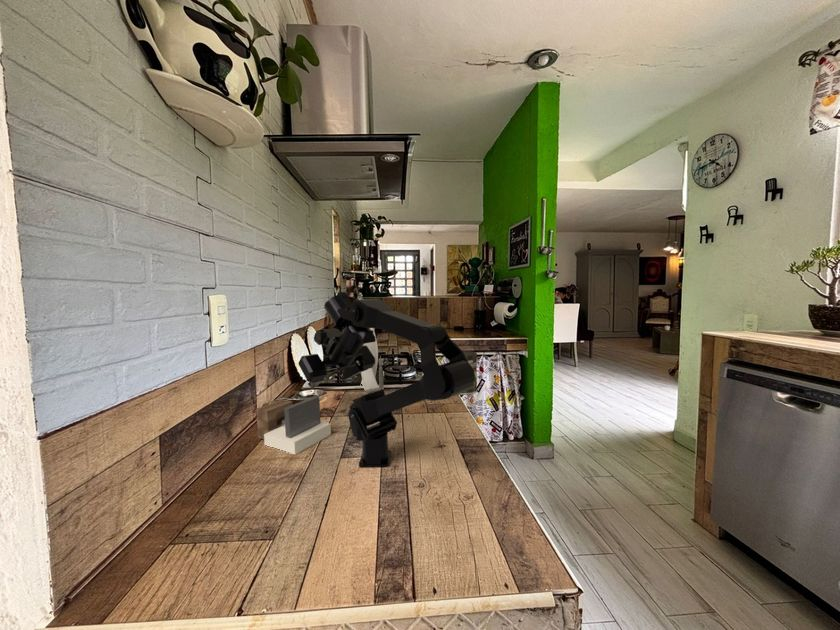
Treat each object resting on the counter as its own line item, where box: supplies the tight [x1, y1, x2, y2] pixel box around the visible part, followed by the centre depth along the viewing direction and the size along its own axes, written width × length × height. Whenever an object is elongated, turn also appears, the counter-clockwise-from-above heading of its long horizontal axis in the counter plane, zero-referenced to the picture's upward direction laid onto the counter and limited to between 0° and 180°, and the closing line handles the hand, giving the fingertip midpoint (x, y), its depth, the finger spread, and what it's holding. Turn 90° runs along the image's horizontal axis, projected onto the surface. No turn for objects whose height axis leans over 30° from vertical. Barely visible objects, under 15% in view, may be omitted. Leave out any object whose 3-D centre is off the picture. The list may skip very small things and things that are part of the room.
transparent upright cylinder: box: [457, 350, 478, 396], centre depth 126 cm, size 10×10×14 cm
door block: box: [263, 421, 332, 456], centre depth 88 cm, size 10×12×3 cm
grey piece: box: [282, 395, 322, 438], centre depth 88 cm, size 8×10×7 cm
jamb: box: [256, 399, 293, 439], centre depth 92 cm, size 4×8×8 cm, turn 152°
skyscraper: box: [360, 328, 385, 393], centre depth 131 cm, size 8×8×28 cm
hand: (327, 383), depth 88 cm, fingers open, 9 cm apart
